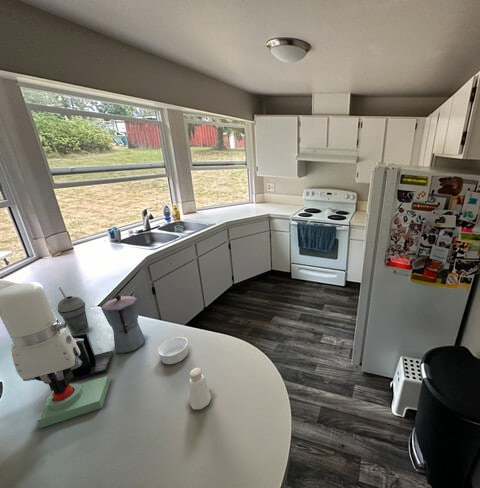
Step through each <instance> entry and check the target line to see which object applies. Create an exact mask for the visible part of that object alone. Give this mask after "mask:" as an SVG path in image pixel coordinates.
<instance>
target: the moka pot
mask: <svg viewBox="0 0 480 488" xmlns="http://www.w3.org/2000/svg"><path fill="white" fill-rule="evenodd" d="M100 308H101V311H102V313H103V314H104V317H105V319H106V322H107V323H108V325H109V327H111V328H112V331H113V342H114V343H113V344H114V351H115V353H119V354H124V353H125V354H126V353H129V352H133V351H134V350H135V351H136V350H137V349H139V348H140V347H141V346H143V345H144V344H145V342H146V337H145V335H144V333H143V331H142V329H141V326H140V324H139V320H138V318H139V308H138V299H137V298H136V297H134V296H132V295H126V296H124V295H120V294H116V295H115V296H114V298H112V299H111V300H108V301H106V302H105V303H103V305H102V306H101V307H100Z"/></svg>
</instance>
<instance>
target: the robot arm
mask: <svg viewBox="0 0 480 488" xmlns="http://www.w3.org/2000/svg"><path fill="white" fill-rule="evenodd" d="M0 319H1V321H2V324H3V325H4V327H5V329H6V331H7V333H8V335H9V337H10V339H11V341H12V344H11V346H10V348H11V349H10V350H11V351H10V352H11V359H12V362H13V365H14V368H15V370H16V371H15V372H16V373H17V374H18V377H20V378H21V379H22V381H23V382H29V381H39V382H42V383H44V384H45V385H48V386H49V388H50V390H51V391H52V392H53V391H54V393H55V395H57V394H59V393H63V392H65V390H66V388H67V386H68V385H69V384H70V383H69V379H68V377H67V374H68V373H69V371H70V370H73V369H75V368H78V367H80V366H81V364H82V361H81V360H80V359H79V358H78V356H80V350H79V348H78V346H77V344H76V342H75V340H74V339H73V337H72V336H71V335H72V333H71V332H70V331H68V330H67V327H68V326H67V325H66V323H65V322H60V321H59V319H57V316H56V314H55V312H54V309H53V307H52V305H51V302H50V300H49V297H48V294H47V292H46V289H45V287H44V286H43V285H42V284H40V283H39V282H32V281H31V282H18V281H14V280H10V279H5V278H2V279H1V278H0Z"/></svg>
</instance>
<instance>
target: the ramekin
mask: <svg viewBox="0 0 480 488" xmlns="http://www.w3.org/2000/svg"><path fill="white" fill-rule="evenodd" d="M157 354H158V356H159V357H160V359H161V362H162V363H163V364H165V365H174V364H175V365H176V364H177V363H179V362H182V361H183V360H184V359H185V358H186V357H187V356H188V354H189V340H188V339H187V338H186V337H184V336H176V337H172V338H170V339H167V340H166V341H164V342H162V344H160V345H159V346H158V349H157Z"/></svg>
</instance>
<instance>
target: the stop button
mask: <svg viewBox="0 0 480 488" xmlns="http://www.w3.org/2000/svg"><path fill="white" fill-rule="evenodd" d="M52 393H53V394H52ZM52 393H51V394H52V395H53V398H54V400H55V401H61V400H64V399H66V398H68V397H69V396H70V395H72V393H73V388H72V386H71V385H68V386H67V388H66V390H65V392H63V393H59V394H57V395H55V393H54V392H53V391H52Z"/></svg>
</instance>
